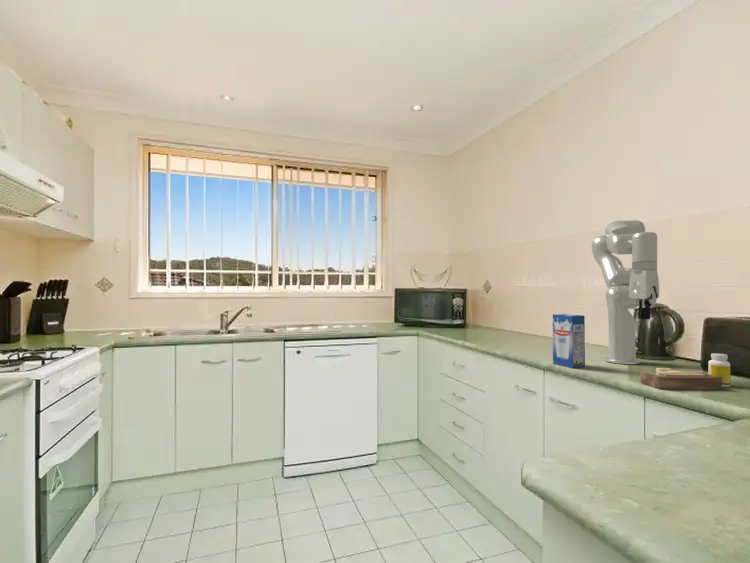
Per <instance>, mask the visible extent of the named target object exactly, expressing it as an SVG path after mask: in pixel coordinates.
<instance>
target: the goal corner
mask: <svg viewBox="0 0 750 563" xmlns="http://www.w3.org/2000/svg"><path fill="white" fill-rule="evenodd" d="M695 372H696V373H700V374H703V375H705V377H663V376H657V375H656V374H654V373H650V372H646V371H641V372H640V384H643V385H646V386H649V387H652V388H653V389H657V390H723V387H722V378H721V377H717V376H713V375H709V374H708V373H706V372H705V373H704V372H702V371H701V372H700V371H695Z"/></svg>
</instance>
